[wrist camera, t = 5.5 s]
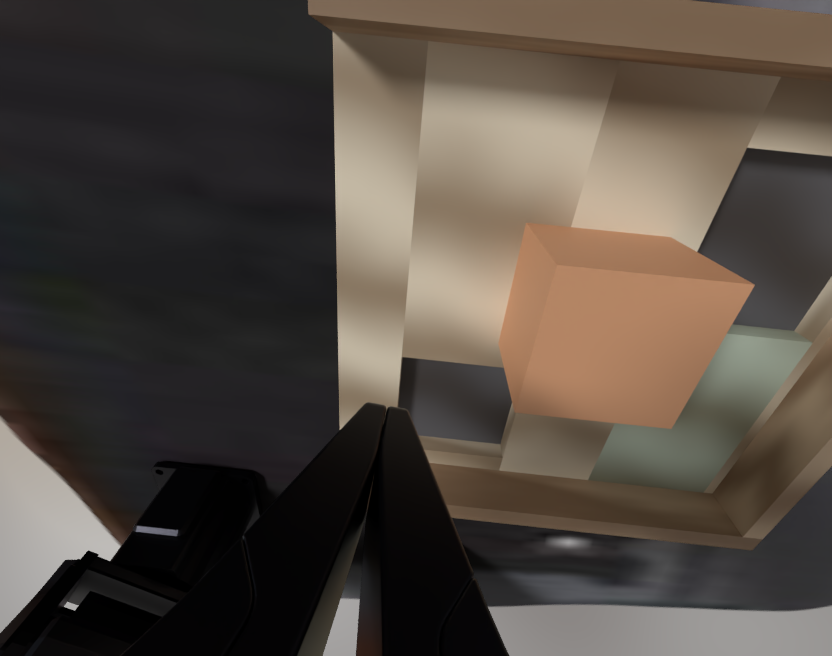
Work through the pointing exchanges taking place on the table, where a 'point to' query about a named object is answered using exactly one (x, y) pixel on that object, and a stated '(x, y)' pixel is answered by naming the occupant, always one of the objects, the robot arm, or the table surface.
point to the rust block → (613, 324)
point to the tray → (591, 209)
